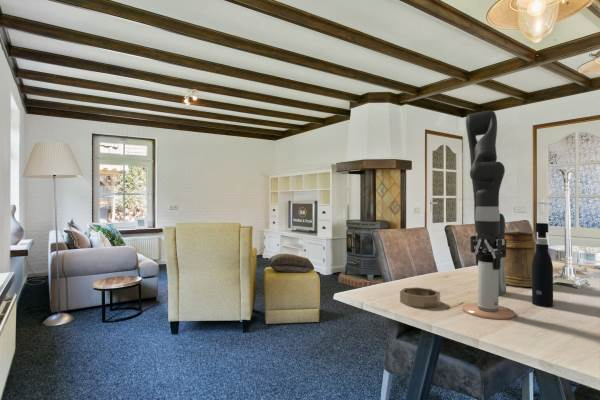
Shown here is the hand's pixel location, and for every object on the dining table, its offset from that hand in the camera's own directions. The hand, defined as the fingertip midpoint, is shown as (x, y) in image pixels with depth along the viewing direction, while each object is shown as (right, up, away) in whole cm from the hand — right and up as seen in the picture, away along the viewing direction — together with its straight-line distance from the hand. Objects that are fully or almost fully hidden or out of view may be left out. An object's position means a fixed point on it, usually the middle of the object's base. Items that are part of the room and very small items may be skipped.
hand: (487, 267), depth 122 cm
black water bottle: (+25, -16, +8) cm, 30 cm away
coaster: (0, -15, 0) cm, 15 cm away
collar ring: (-20, -15, +11) cm, 27 cm away
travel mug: (0, -15, 0) cm, 15 cm away
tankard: (+38, -16, +45) cm, 61 cm away
